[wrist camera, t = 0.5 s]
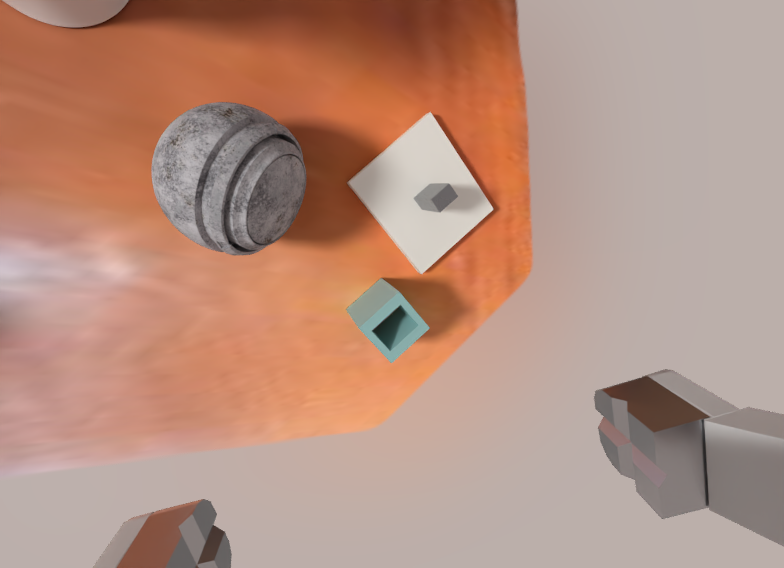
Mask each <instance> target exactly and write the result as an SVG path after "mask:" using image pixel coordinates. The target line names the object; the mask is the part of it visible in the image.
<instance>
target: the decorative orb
mask: <svg viewBox="0 0 784 568" xmlns="http://www.w3.org/2000/svg"><path fill="white" fill-rule="evenodd" d="M152 183H153V188H154V192H155V195H156V198H157V200H158V203H159V205H160V207H161V209H162V210H163V212H164V214H165V215H166V216H167V218H168V219H169V220H170V222H171V223H172V224H173V225H174V226H175V227H176V228H177V229H178V230H179V231H180V232H181V233H182V234H184V235H185V236H186V237H188V238H189V239H190V240H192V241H194V242H195V243H197V244H199V245H201V246H203V247H206V248H208V249H211V250H215V251H219V252H225V253H227V254H230V255H250V254H254V253H256V252H258V251H260V250H262V249H263V248H265V247H266V246H268V245H270V244H272V243H274V242H275V241H277V240H278V239H279V238H280V237H281V236H283V234H284V233H285V232H286V231H287V230H288V228H289V227H290V226H291V224H292V223H293V221H294V219H295V217H296V215H297V213H298V211H299V209H300V206H301V204H302V201H303V197H304V193H305V188H306V169H305V165H304V162H303V155H302V150H301V147H300V145H299V143H298V141H297V140H296V138H295V137H294V136H293V135H292V133H291V132H290V131H289V130H288V129H287V128H286V127H284V126H283V125H281V124H279V123H278V122H277V121H276V120H274V119H273V118H272V117H270V116H269V115H267V114H265V113H263V112H262V111H259V110H257V109H255V108H252V107H249V106H246V105H242V104H237V103H228V102H218V103H210V104H205V105H201V106H198V107H195V108H193V109H190V110H188V111H186V112H185V113H183V114H182V115H180V116H179V117H177V118H176V119H175V120H174V121H173V122H172V123H171V124H170V125H169V126H168V127H167V128H166V130H165V131H164V133H163V134H162V136H161V137H160V139H159V141H158V143H157V146H156V148H155V152H154V155H153V161H152Z"/></svg>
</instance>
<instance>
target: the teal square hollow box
mask: <svg viewBox="0 0 784 568" xmlns="http://www.w3.org/2000/svg"><path fill="white" fill-rule="evenodd" d="M397 307H398V309H397V310H395V309H396V308H397ZM346 310H347V312H348V313H349V315H350V316H351V318H352V319H353V321H354V322H355V324H356V325H357V326H358V328H359V329H360V330H361V331H362V332H363V333H364V334H365V336H366V337H367V338H368V339H369V340H370V341H371V342H372V343H373V344H374V345H375V346H376V347H377V348H378V349H379V350H380V351H381V353H382V354H383V355H384V356H385V357H386V358H387V359H388V360H389V361H390V362H391V363H392V362H394V361H395V360H396V359H397V358H398V357H399V356H400V355H401V354H402V353H403V352H404V351H406V350H407V349H408V348H409V347H410V346H411V345H412V344H413V343H414V342H415V341H416V340H418V339H419V338H420V337H421V336H422V335H423V334H424V333H425V332H426V331H427V330H428V329H430V328H429V326H428V325H427V324H426V323H425V322H424V320H423V319H422V318H421V317H420V316H419V314H418V313H417V312H416V311H415V310H414V309H413V307H412V306H411V305H410V304H409V303H408V301H407V300H406V299H405V298H404V297H403V295H402V294H401V293H400V292H399V291H398V290H396V289H395V288H394V287H393V286H391V285H390V284H389V283H387V282H386V281H385V280H383V279H382V278H380V279H379V280H378V281H377V282H376V283H375V284H374V285H373V286H371V287H370V288H369V289H368V290H367V291H366V292H365V293H364V294H363V295H361V296H360V297H359V298H358V299H357V300H356V301H355V302H354V303H352V304H351V305H350V306H349V307H348V308H347V309H346ZM394 310H395V311H394ZM393 311H394V312H393ZM392 312H393V313H392ZM391 313H392V314H391ZM390 314H391V315H390ZM389 315H390V316H389ZM388 316H389V317H388ZM386 317H388V318H387V319H385V318H386ZM384 319H385V320H384ZM383 320H384V321H383ZM382 321H383V322H382ZM381 322H382V323H381ZM380 323H381V324H380ZM379 324H380V325H379ZM378 325H379V326H378ZM376 326H378V327H377V328H376V329H374V328H375V327H376ZM373 329H374V330H373Z"/></svg>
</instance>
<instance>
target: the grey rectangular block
mask: <svg viewBox="0 0 784 568" xmlns="http://www.w3.org/2000/svg"><path fill="white" fill-rule="evenodd" d="M457 197H458V195H457V194H456V192H455V191H454V190H453V188H452V187H451V185H450V184H449V183H432V184H429V185H428V186H427V187H425V188H424V189H423V190H422V191H421V192H420V193H419V194H417V195H416V196H415V197H414V200H415V201H416V202H417V204H418V205H419V206H420V208H421V209H422V210H427V211H433V212H441V211H443V210H444V209H445V208H446V207H447V206H448V205H449V204H450V203H452V202H453V201H454V200H455V199H456V198H457Z"/></svg>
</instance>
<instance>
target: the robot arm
mask: <svg viewBox="0 0 784 568" xmlns="http://www.w3.org/2000/svg"><path fill="white" fill-rule="evenodd" d="M2 1H4V2H5V3H7V4H8V5H10V6H12V7H13V8H15V9H16V10H18V11H20V12H21V13H23V14H25V15H27V16H29V17H31V18H34V19H36V20H39V21H41V22H44V23H48V24H51V25H56V26H62V27H87V26H92V25H96V24H99V23H102V22H104V21H106V20H108V19H110V18H112V17H113V16H115V15H116V14H117V13H118V12H119V11H121V10H122V9H123V7H124V6H125V5H126V4H127V2H128V1H129V0H2ZM594 399H595V408H596V410H597V411H598V412H600V413H601V414H602V415H603V416H604V417H603V419H602V421H601V423H600V425H599V427H598V429H599V435H600V441H601V443H602V446H603V448H604V450H605V453H606V455H607V457H608V458H609V460H610V461H611V463H612V465H613V466H614V467H615V468H616V469H617V470H618V471H619V473H620V474H621V475H624V476H626V477H629V478H632V479H634V480H635V483H636V490H637V492H638V493H639V495H640V496H641V497H642V498H643V499H644V500H645V501H646V502H647V503H648V504H649V505H650V506H651V508H652V509H653V510H654V511H655V512H656V513H657V514H658V515H659V516H660V517H661V518H662V519H664V518H669V517H672V516H676V515H680V514H684V513H688V512H692V511H696V510H700V509H704V508H708V507H709V509H710V510H711V511H713V512H715V513H717V514H719V515H721V516H723V517H725V518H727V519H729V520H731V521H733V522H735V523H737V524H739V525H741V526H743V527H745V528H747V529H749V530H752V531H753V532H755V533H757V534H760V535H761V536H764V537H766V538H768V539H770V540H772V541H774V542H776V543H778V544H780V545H782V546H784V414H779V413H774V412H770V411H765V410H760V409H755V408H750V407H747V408H743V409H739V408H737V407H735V406H734V405H732V404H730V403H729V402H727V401H725V400H723V399H722V398H720V397H718V396H716V395H715V394H713V393H711V392H709V391H708V390H706V389H704V388H703V387H701V386H699V385H698V384H696V383H694V382H692V381H691V380H689V379H687V378H685V377H684V376H682V375H680V374H679V373H677V372H675V371H673V370H667V369H665V370H661V371H658V372H655V373H652V374H649V375H645V376H643V377H642V378H638V379H635V380H631V381H628V382H624V383H621V384H617V385H614V386H610V387H607V388H603V389H600V390H596V391H595V396H594ZM216 515H217V513H216V511H215V509H214V508H213V506H212V504H211V502H210V501H208V500H205V499H202V500H198V501H194V502H190V503H186V504H183V505H178V506H174V507H170V508H166V509H163V510H159V511H156V512H151V513H147V514H144V515H140V516H137V517H133V518H131V519H129V520H128V521H126V522H124V523H123V525H122V526H121V528H120V529H119V531H118V532H117V534H116V535H115V536H114V538H113V539H112V541H111V542H110V544H109V545H108V546H107V548H106V549H105V551H104V552H103V554H102V555H101V556H100V558H99V559H98V561H97V562H96V564H95V565H94V566H93V568H231V549H230V544H229V540H228V538H227V536H226V533H225V532H224V531H223V530H221V529H219V528H218V527H216V526H214V521H215V519H216Z"/></svg>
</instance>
